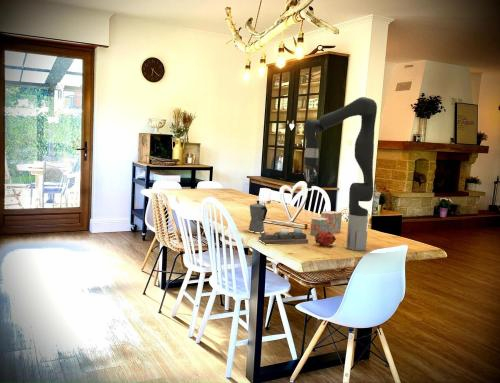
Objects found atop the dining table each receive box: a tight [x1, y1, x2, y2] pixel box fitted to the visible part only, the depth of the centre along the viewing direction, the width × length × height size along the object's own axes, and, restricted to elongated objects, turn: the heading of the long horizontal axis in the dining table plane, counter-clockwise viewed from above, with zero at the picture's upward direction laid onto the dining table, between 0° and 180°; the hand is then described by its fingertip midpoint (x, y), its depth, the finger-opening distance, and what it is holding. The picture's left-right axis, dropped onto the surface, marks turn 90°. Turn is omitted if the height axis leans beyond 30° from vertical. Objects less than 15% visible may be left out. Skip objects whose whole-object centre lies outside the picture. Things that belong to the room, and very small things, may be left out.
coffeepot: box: [248, 199, 268, 232], centre depth 260 cm, size 15×9×18 cm, turn 33°
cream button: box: [279, 228, 289, 235], centre depth 239 cm, size 4×4×3 cm
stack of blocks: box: [309, 210, 343, 236], centre depth 269 cm, size 21×6×12 cm, turn 135°
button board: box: [258, 231, 309, 245], centre depth 239 cm, size 10×24×4 cm, turn 111°
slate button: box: [292, 227, 303, 234], centre depth 242 cm, size 4×4×3 cm
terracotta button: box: [264, 231, 275, 235], centre depth 236 cm, size 4×4×3 cm
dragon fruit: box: [314, 231, 337, 247], centre depth 236 cm, size 8×8×12 cm
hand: (309, 188), depth 254 cm, fingers closed
